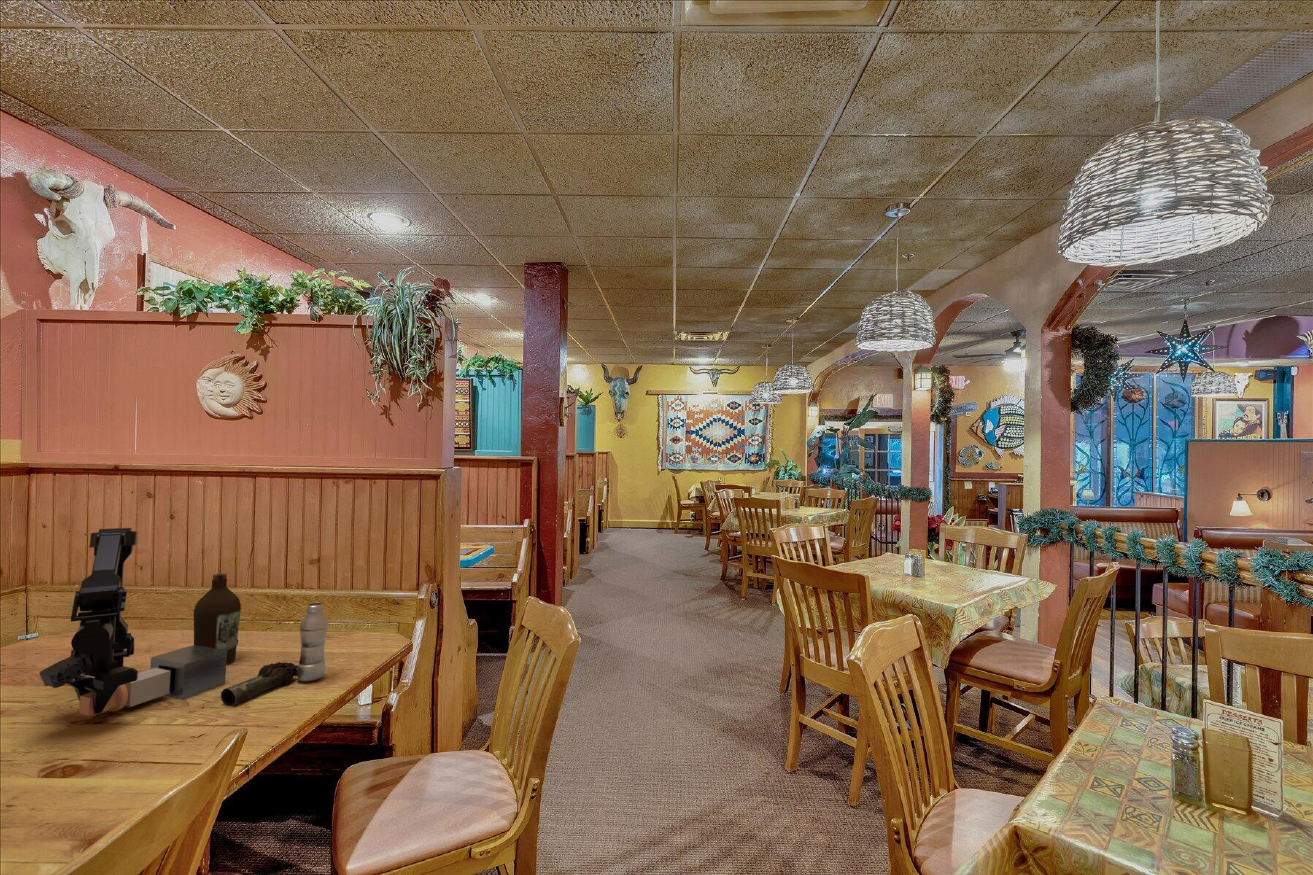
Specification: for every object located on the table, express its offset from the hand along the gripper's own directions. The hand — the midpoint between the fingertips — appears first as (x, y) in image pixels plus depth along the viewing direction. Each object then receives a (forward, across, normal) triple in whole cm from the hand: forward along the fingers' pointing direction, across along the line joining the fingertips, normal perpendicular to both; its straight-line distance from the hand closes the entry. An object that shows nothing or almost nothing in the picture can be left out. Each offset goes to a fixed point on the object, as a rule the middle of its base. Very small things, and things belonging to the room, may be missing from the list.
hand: (92, 711), depth 124 cm
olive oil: (+2, -11, +33) cm, 35 cm away
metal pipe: (+2, +18, +25) cm, 31 cm away
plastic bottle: (+2, +23, +34) cm, 42 cm away
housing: (+2, 0, +19) cm, 20 cm away
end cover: (+1, 0, +6) cm, 6 cm away
